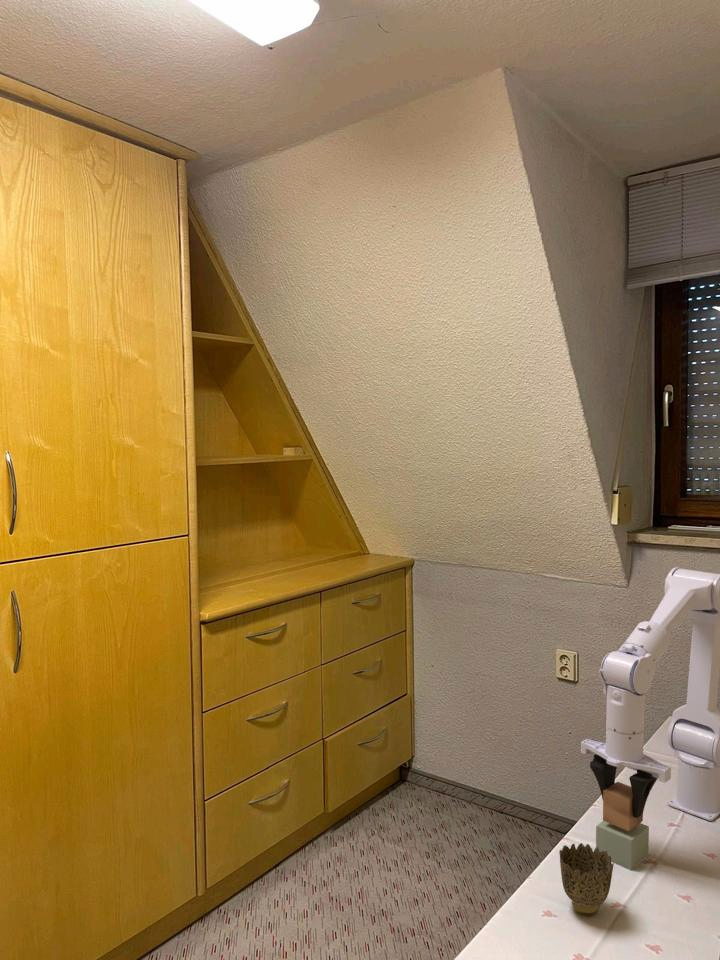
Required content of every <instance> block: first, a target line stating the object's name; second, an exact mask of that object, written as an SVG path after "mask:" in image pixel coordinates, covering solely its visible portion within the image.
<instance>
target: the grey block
mask: <svg viewBox="0 0 720 960" xmlns="http://www.w3.org/2000/svg"><path fill="white" fill-rule="evenodd" d="M595 828H596V830H595V848H596V847H597V846H598V848H599V852H601V851H604V850H606V851H607V852H608V856H611V863H612V864H613V863H614V864H615V865H618V866H620V867H622V868H624V869H626V870H629V871H632V870H633V869H634V868H636V867H637V866H638V865H639V864H641V862H643V861H644V860H645V859H646V858H647V857H648V856H649V844H650V843H649V842H650V841H649V840H650V838H649V837H650V836H649V834H650V826H649V825H646V824H644V823H642V822H641V823H640V824H638V825H637V826H635V827H634V828H633V829H631V830H630V831H627V830H624V829H622V828H620V827H617V826H615V825H613V824H610V823H608V822H605V821H603V820H602V821H601V822H600V823H598V824H596V826H595Z"/></svg>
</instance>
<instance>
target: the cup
mask: <svg viewBox="0 0 720 960" xmlns="http://www.w3.org/2000/svg"><path fill="white" fill-rule="evenodd" d="M559 863H560V864H559V865H560V873H561V881H562V882H561V883H562V886H563V890H564V892H565V894H566V896H567V897H568V898H569V900H571V905H572V908H573V910H574V911H575V912H576V913H577V914H579V915H581V916H584V917H593V916H595V915H597V913H598V911H599V907H600V905H602V904H604V903H605V901H606V900H607V898H608V895H609V893H610V889H611V885H612V884H611V883H612V877H613V871H614V864H615V863H613V862H611V856H608V852H607V851H606V850H604V851H601V852H599V848H598V846H597V847H596V846H595V848H594V851H593V848H592V847H591V846H590V844H589V843H587V844H586V845H584V844H583V843H582V842H581V843H579V844H578V845H577V847H576V844H575V843H572V844H571V845H570V847H569V846H568V845H565V844H564V846H563V847H562V848H561V849H560V850H559Z"/></svg>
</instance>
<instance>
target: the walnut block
mask: <svg viewBox="0 0 720 960" xmlns="http://www.w3.org/2000/svg"><path fill="white" fill-rule="evenodd" d="M602 802H603V803H602V821H605V822H608V823H610V824H613V825H615V826H617V827H620V828H622V829H624V830H627V831H630V830H631V829H633V828H634V827H635V826H637V825H638V824H640V823H641V824H642V822H644V821H643V820H644V813H643V814H642V815H641V816H640V817H638V818H635V817H633V812H632V803H633V796H632V788H631V785H628V784H625V783H623V782H620V781H615V783H614V784H613V785H611V786H610V787H608V788H607V789H605V790H604V791H603V799H602Z"/></svg>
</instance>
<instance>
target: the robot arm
mask: <svg viewBox="0 0 720 960" xmlns="http://www.w3.org/2000/svg"><path fill="white" fill-rule="evenodd" d="M687 614H688V615H689V616H690V618H691V619H692V633H691V645H690V656H689V658H690V659H689V669H688V679H687V690H686V691H687V692H686V703H685V704H684V705H681V706H679V707H677V708H675V710H673V711H672V716H671V720H670V724H669V726H668V729H667V742H668V744H669V748H671V749H672V750H674V751H673V753H674V756H675V757H677V778H676V780H677V783H676V784H677V785H676V795H675V796H674V797H673V798H672V799H670V800H669V801H667V805H668V806H669V807H672V808H674V809H677V810H679V811H683V812H685V813H688V814H691V815H693V816H695V817H698V818H701V819H704V820H706V821H713V820H715V819H716V818H717V817H719V815H720V710H719V709H718V708H717V702H718V691H719V681H720V680H719V679H720V573H715V572H707V571H700V570H694V569H693V570H692V569H687V568H686V569H685V568H682V567H676V566H675V567H673V568H672V569H671V570H670V571H669V572H668V574H667V576H666V577H665V580H664V596H663V598H662V599H661V601H660V603H659V604H658V606H657V607H656V609H655V611H654V613H653V614H652V616H651V618H650V619H649V620H648V621H646V620H645V621H641V622H639V623H638V624H637V625H636V627H635V628H634V630H632V632H631V633H630V635H629V636H628V637H627V639H626V640H625V641H624V643H622V645H621V646H620V647H619V649H617V650H614V651H611V652H608V653H606V654H605V656H604V657H603V659H602V661H601V665H600V668H599V670H598V671H599V678H600V679H599V680H600V682H601V684H602V690H603V695H604V696H605V697H606V709H605V711H606V717H605V718H606V719H605V721H606V723H605V742H601V741H597V740H592V739H589V738H586V739H583V740H582V741H581V742H580V753H581V754H583V755H591V756H593V759H592V760H591V761H590V762H589V768H590V769H591V771H592V773H593V775H594V777H595V779H596V781H597V784H598V787H599V791H600V793H601V798H602V800H603V791H604V790H605V789H607V788H608V787H610V786H611V785H613V784H614V783H616V774H617V773H616V772H617V768H618V767H624V768H628V769H631V770H633V771H636V773H635V772H634V774H632V775H630V776H629V778H628V779H629V782H630V786H631V788H632V796H633V803H632V812H633V817H635V818H638V817H640V816H641V815H642V814H643V815H644V811H645V806H646V803H647V800H648V797H649V795H650V793H651V790H652V788H653V787H654V785H655V784H656V782H657V781H659V782H662V783H665V784H666V783H667V782H668V781H670V780H671V778H672V777H671V776H672V767H671V766H669V765H666V764H664V763H662V762H660V761H658V760H656V759H654V758H653V757H651V756H649V755H647V754H645V753H644V738H645V737H644V734H645V730H644V728H645V700H646V699H645V698H646V697H645V696H646V695H645V694H646V693H647V691H648V690H650V689H651V688H650V687H651V686H652V683H653V680H654V679H653V678H654V675H655V674H656V669H657V667H656V664H657V663H658V661H659V660H660V659H661V657H662V656H663V654H664V653H665V652H666V650H667V649H668V648H669V646H670V644H671V638H670V636H669V634H670V633H671V632H672V631H673V630H674V629H675V627H677V625H678V624H679V623H680V622H681V621H682V620H683V619H684V618H685V616H686V615H687Z"/></svg>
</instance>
